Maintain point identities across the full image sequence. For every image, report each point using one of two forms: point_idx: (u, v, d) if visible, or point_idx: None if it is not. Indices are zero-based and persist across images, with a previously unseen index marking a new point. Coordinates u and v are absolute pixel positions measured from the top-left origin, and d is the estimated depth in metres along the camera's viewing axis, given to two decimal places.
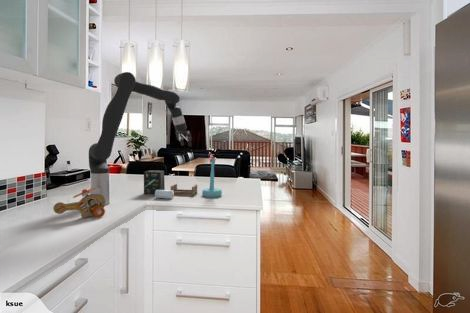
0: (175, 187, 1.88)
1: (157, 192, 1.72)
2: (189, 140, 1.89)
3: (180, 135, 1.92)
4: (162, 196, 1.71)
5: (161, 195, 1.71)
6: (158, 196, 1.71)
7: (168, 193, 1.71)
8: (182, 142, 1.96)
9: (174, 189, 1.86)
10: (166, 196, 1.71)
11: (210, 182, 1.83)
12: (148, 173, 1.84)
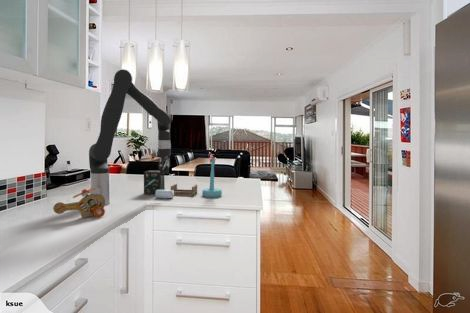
0: (175, 187, 1.88)
1: (158, 191, 1.73)
2: (160, 168, 1.67)
3: None
4: (162, 195, 1.72)
5: (161, 194, 1.72)
6: (158, 195, 1.72)
7: (169, 192, 1.72)
8: (166, 170, 1.77)
9: (174, 189, 1.86)
10: (166, 195, 1.71)
11: (210, 182, 1.83)
12: (148, 173, 1.84)
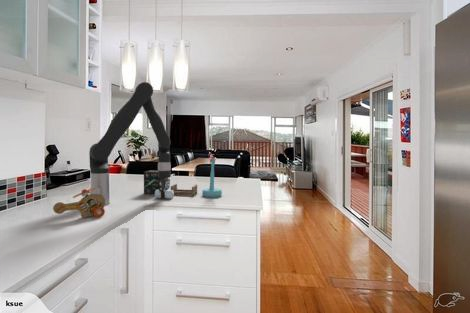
0: (175, 187, 1.88)
1: (157, 192, 1.72)
2: (161, 191, 1.69)
3: None
4: None
5: None
6: (158, 196, 1.71)
7: (168, 193, 1.71)
8: None
9: (174, 189, 1.86)
10: (166, 196, 1.71)
11: (210, 182, 1.83)
12: (148, 173, 1.84)
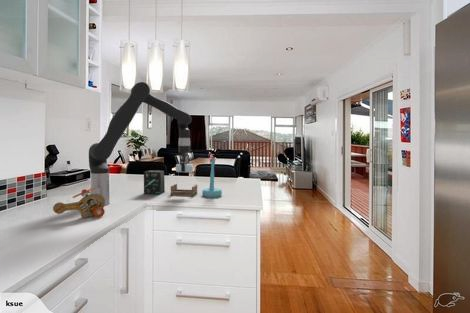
0: (175, 187, 1.88)
1: (178, 166, 1.84)
2: (182, 165, 1.81)
3: None
4: None
5: None
6: (179, 169, 1.84)
7: (188, 166, 1.83)
8: None
9: (174, 189, 1.86)
10: (186, 169, 1.83)
11: (210, 182, 1.83)
12: (148, 173, 1.84)
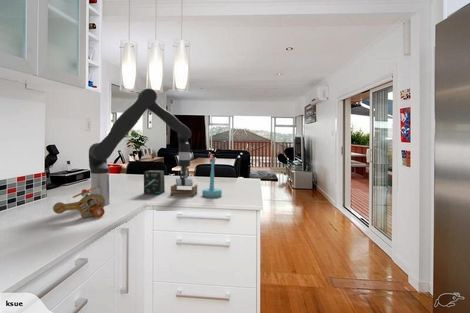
0: (175, 187, 1.88)
1: (178, 180, 1.85)
2: (181, 179, 1.82)
3: None
4: None
5: None
6: (179, 183, 1.84)
7: (188, 180, 1.84)
8: None
9: (174, 189, 1.86)
10: (186, 183, 1.84)
11: (210, 182, 1.83)
12: (148, 173, 1.84)
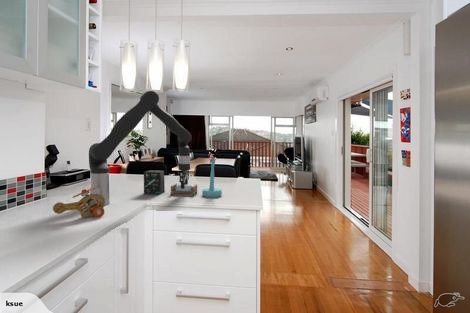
0: (175, 187, 1.88)
1: (178, 186, 1.85)
2: (181, 182, 1.81)
3: None
4: (182, 190, 1.84)
5: (181, 189, 1.84)
6: (179, 190, 1.84)
7: (188, 187, 1.84)
8: (186, 183, 1.90)
9: (174, 189, 1.86)
10: (186, 190, 1.84)
11: (210, 182, 1.83)
12: (148, 173, 1.84)
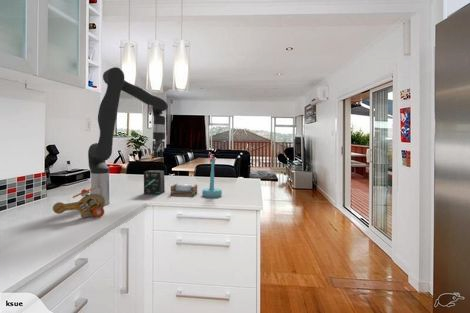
0: (175, 187, 1.88)
1: (178, 186, 1.85)
2: (154, 151, 1.75)
3: None
4: (182, 190, 1.84)
5: (181, 189, 1.84)
6: (179, 190, 1.84)
7: (188, 187, 1.84)
8: (160, 153, 1.84)
9: (174, 189, 1.86)
10: (186, 190, 1.84)
11: (210, 182, 1.83)
12: (148, 173, 1.84)
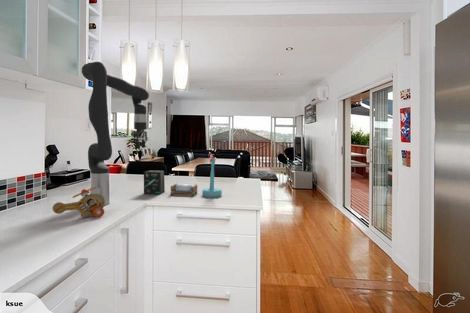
0: (175, 187, 1.88)
1: (178, 186, 1.85)
2: (136, 141, 1.72)
3: None
4: (182, 190, 1.84)
5: (181, 189, 1.84)
6: (179, 190, 1.84)
7: (188, 187, 1.84)
8: (143, 144, 1.82)
9: (174, 189, 1.86)
10: (186, 190, 1.84)
11: (210, 182, 1.83)
12: (148, 173, 1.84)
